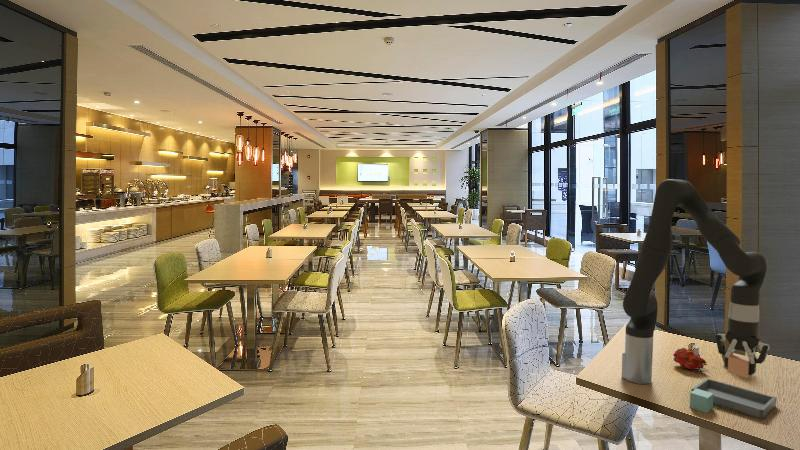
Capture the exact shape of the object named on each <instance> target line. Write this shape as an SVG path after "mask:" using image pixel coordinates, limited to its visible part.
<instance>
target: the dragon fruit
mask: <svg viewBox="0 0 800 450" xmlns="http://www.w3.org/2000/svg"><path fill="white" fill-rule="evenodd" d="M694 352H695V350H693V349H692V348H689V349H688V348H685V347H682V348H678V349H676V350H675V351H674V353H673V361H674V362H675V363H678V364H679V365H680V367H681V369H685V368H686V369H688V370H690V371H691V372H699V370H698V369H704V367H705V366H707V365H708V364H707V361H706V360H705V359H704V358H703V357H701V355H700V354H699V353H698V355H696V354H695V353H694Z"/></svg>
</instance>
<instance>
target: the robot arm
mask: <svg viewBox="0 0 800 450" xmlns="http://www.w3.org/2000/svg"><path fill="white" fill-rule="evenodd" d="M677 208H681V209H682V210H683V211H685V212H686V213H688V214H689V216H691V217H692V219H693V220H694V222H695V224H696V227H697V229H698V231H699V232H700V234H701V236H702V237H703V238H704V239H705V240H706V242H708V243H709V245H710V246H711V247H712V248H713V249H714V250H715V251H716V252H717V253H718V255H719V257H720V259H721V260H722V263H723V264H724V267H726V269H727V270H728V271H729V272H730V273H732V274H734V275H735V276H738V277H739V278H738V280H737V281H736V282H735V283H733V284H732V285H731V289H730V302H729V308H728V319H727V332H726V334H724V333H718V334H716V335H714V337H715V341H716V347H717V351H718V353H719V354H720V355H721V354H723V355H724V356H725V365H724V367H726V370H728V357H729V356H731V355H732V354H733V353H734V351H735V350H741V351H744V352H746V356H748V358H749V361H750V363H749V375H750V376H753V375H755V374H756V372H757V364H763V363H764V362H766V361H765V360H766V357H767V356H768V353H769V351H770V349H771V344H769V343H764V342H762V341H760V339H759V323H760V317H761V316H760V291H761V288H762V285H763V282H764V280H765V277H766V274H767V268H768V267H767V262H766V258H765V257H764V255H763V254H761V253H759V252H757V251H746V252H745V251H743V250H742V248H741V247H740V244H741V240H740V238H739V237H738V236H737V235H736V234H735V232H733V231H732V230H731V229H730V228H729V227H728V226H727V225H726V224H725V223H724V222H723V221H722V220H721V219H720V218H719V216H717V215H716V213H715V212H713V210H712V209H711V207H710V206H709V205H708V204H707V203H706V201H705V200H704V198H703V197H702V196H701V194H700V193H699V191H698V190H697V189H696V188H695V186H694V185H693V183H691V182H689V181H688V180H685V179H673V178H671V179H670V178H667V179H665V180H663V181H661V182H660V184H659V185H658V186H657V188H656V191H655V195H654V200H653V205H652V210H651V215H650V219H649V223H648V226H647V229H646V233H645V236H644V238H643V239H644V240H643V242H642V245H641V247H640V252H639V255H638V259H637V262H636V265H635V269H634V271H633V272H634V273H633V274H632V279H631V281H630V283H629V286H628V288H627V290H626V292H625V295H624V297H623V300H622V308H623V311H624V313H625V315H627V316H628V317H630V319H629V321H628V323H627V324H626V325H625V337H624V338H625V340H624V341H625V342H624V351H623V352H622V355H621V378H623V379H625V380H626V381H628V382H631V383H634V384H638V385H647V384H651V383H652V380H653V379H652V377H653V353H654V333H655V330H656V327H657V321H658V320H657V319H658V310H659V309H658V308H659V307H658V301H657V298H656V296H655V295H654V294H653V293H652V289H653V287H654V285H655V283H656V281H657V279H658V278H659V277H660V276H661V274H662V272H664V269H665V268H666V267H667V265H668V262H669V261H670V256H671V254H672V250H673V246H674V239H673V232H672V220H673V217H674V213H675V211H676V209H677ZM725 338H726V339H727V340H728V342H729V343H730V346H729V348H728V350H727V351H726V350H725V345H724V341H725ZM757 346H758V348H759V350H760V354H759V356H758V357H757V355H756V352H755V348H756V347H757Z"/></svg>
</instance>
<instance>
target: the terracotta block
mask: <svg viewBox="0 0 800 450" xmlns="http://www.w3.org/2000/svg"><path fill="white" fill-rule="evenodd" d="M749 363H750V361H749V358H748V356H747V355H746V356H744V355H740V354H735V353H734V354H732V355H731V356H729V357H728V369H727V372H726V373H728V374H730V375H735V376H737V377H738V376H739V377H742V378H749V377H750V376H751V375H749Z"/></svg>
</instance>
